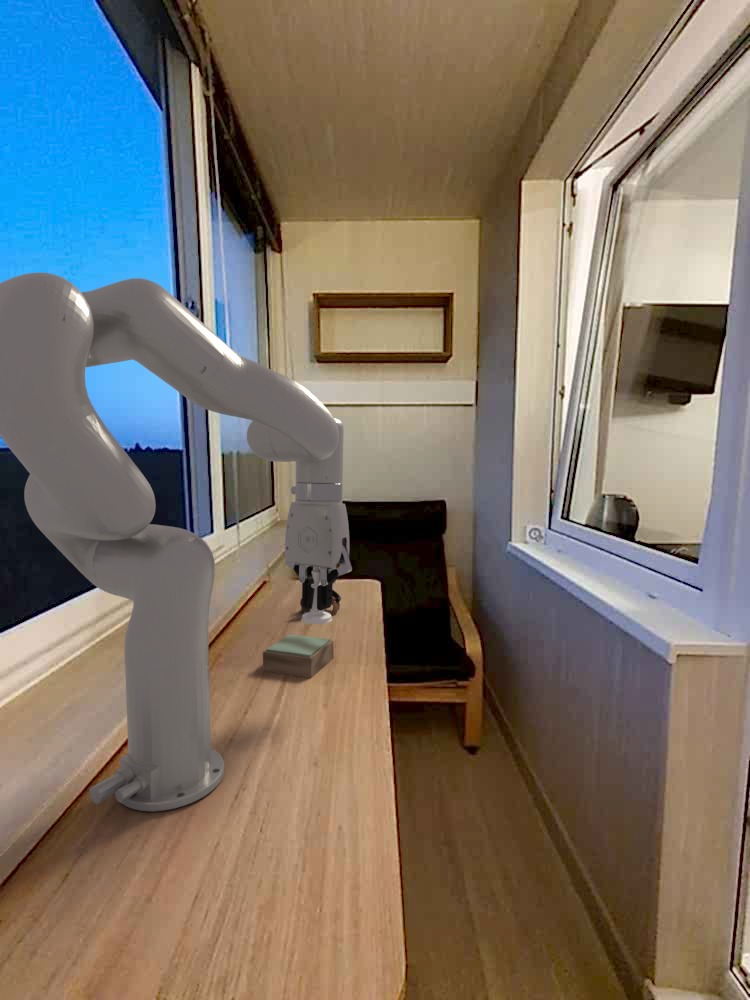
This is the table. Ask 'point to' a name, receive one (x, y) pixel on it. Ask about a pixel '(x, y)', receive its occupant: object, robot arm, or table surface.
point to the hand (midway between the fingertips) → (316, 606)
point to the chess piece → (315, 614)
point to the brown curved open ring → (335, 604)
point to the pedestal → (298, 655)
